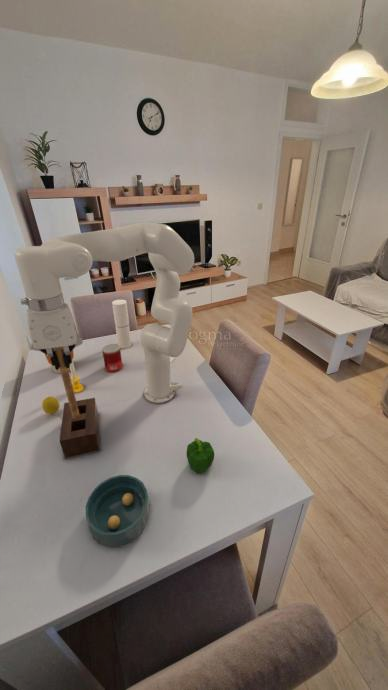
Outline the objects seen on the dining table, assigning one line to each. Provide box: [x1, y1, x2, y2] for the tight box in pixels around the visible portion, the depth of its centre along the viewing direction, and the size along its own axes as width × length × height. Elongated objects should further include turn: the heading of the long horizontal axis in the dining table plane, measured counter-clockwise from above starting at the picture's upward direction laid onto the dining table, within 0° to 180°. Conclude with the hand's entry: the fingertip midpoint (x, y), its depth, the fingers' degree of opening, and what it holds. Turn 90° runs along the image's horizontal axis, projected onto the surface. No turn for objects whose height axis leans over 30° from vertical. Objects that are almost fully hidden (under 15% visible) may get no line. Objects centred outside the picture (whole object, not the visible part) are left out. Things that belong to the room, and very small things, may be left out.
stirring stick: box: [55, 347, 80, 419], centre depth 78 cm, size 2×2×24 cm
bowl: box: [85, 474, 150, 548], centre depth 71 cm, size 15×15×6 cm
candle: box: [70, 360, 85, 394], centre depth 114 cm, size 5×5×16 cm
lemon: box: [41, 395, 60, 415], centre depth 103 cm, size 6×6×8 cm
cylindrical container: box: [111, 299, 132, 349], centre depth 145 cm, size 7×7×25 cm
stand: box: [59, 397, 100, 459], centre depth 94 cm, size 10×18×8 cm, turn 18°
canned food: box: [101, 343, 123, 373], centre depth 129 cm, size 8×8×11 cm
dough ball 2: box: [122, 493, 134, 506], centre depth 74 cm, size 3×3×3 cm
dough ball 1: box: [108, 515, 120, 530], centre depth 69 cm, size 3×3×3 cm
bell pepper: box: [186, 437, 215, 474], centre depth 84 cm, size 8×8×10 cm
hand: (63, 365), depth 74 cm, fingers closed on stirring stick, 2 cm apart
